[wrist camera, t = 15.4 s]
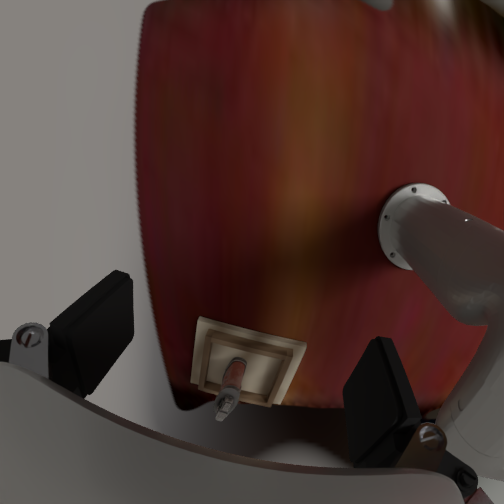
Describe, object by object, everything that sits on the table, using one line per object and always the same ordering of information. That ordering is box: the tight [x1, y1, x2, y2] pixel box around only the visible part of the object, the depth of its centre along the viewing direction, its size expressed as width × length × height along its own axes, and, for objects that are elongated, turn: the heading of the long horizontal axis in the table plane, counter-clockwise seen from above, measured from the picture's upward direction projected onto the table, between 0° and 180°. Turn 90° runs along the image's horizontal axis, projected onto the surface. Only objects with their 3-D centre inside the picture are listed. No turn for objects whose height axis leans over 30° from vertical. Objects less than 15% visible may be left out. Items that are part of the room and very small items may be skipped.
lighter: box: [214, 357, 247, 421], centre depth 42 cm, size 8×3×10 cm, turn 160°
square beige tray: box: [191, 316, 307, 407], centre depth 45 cm, size 18×16×3 cm
